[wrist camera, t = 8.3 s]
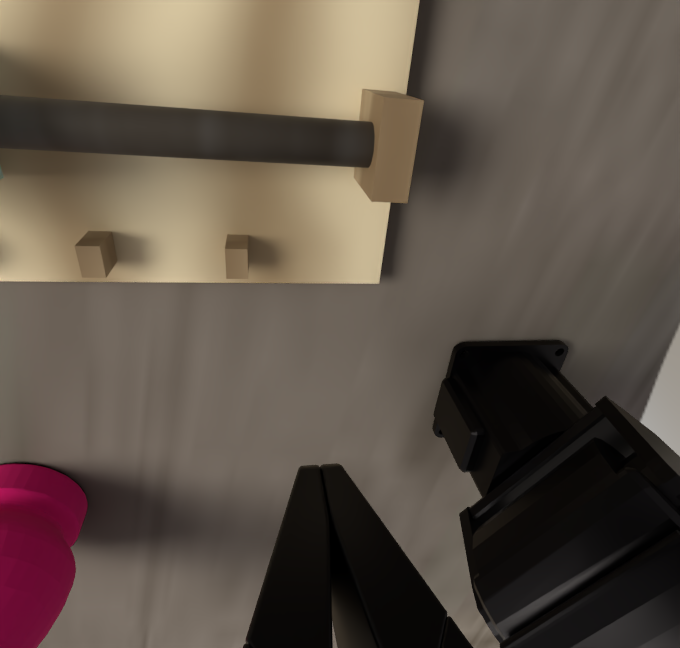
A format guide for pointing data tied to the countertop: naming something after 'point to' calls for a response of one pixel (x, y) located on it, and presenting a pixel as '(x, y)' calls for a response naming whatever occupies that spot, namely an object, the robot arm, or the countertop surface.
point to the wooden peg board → (203, 138)
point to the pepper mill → (36, 550)
